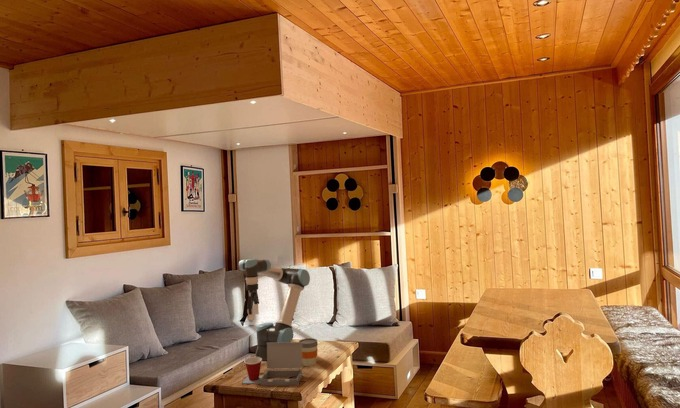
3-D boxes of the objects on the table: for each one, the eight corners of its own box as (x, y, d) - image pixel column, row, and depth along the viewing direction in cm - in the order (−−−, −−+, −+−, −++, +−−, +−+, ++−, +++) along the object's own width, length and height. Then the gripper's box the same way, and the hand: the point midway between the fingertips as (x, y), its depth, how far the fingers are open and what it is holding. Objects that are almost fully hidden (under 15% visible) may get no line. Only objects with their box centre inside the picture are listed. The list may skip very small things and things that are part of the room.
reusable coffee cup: (316, 367, 343) (315, 343, 343) (297, 366, 346) (296, 343, 346) (320, 360, 356) (319, 338, 355) (302, 360, 358) (301, 338, 358)
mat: (247, 376, 330) (247, 376, 330) (265, 376, 329) (265, 375, 329) (242, 384, 318) (242, 383, 318) (260, 383, 317) (260, 382, 317)
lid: (266, 370, 329) (267, 369, 331) (301, 370, 327) (302, 369, 329) (266, 342, 332) (267, 342, 333) (301, 342, 329) (301, 342, 331)
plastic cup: (241, 382, 320) (240, 362, 320) (249, 375, 331) (248, 356, 330) (258, 382, 317) (257, 362, 317) (265, 376, 328) (264, 357, 328)
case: (267, 376, 330) (266, 370, 330) (302, 375, 328) (302, 370, 328) (260, 386, 313) (260, 380, 313) (297, 386, 311) (297, 380, 311)
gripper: (251, 280, 352) (252, 312, 353) (240, 287, 328) (242, 321, 328) (262, 279, 352) (264, 312, 352) (252, 286, 327) (254, 321, 327)
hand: (253, 316), depth 340 cm, fingers open, 13 cm apart
